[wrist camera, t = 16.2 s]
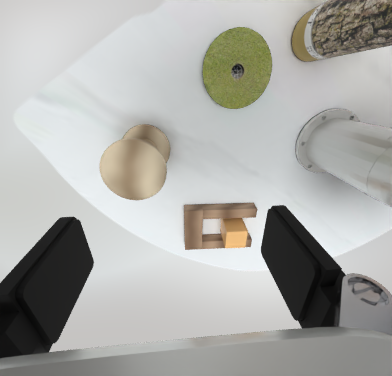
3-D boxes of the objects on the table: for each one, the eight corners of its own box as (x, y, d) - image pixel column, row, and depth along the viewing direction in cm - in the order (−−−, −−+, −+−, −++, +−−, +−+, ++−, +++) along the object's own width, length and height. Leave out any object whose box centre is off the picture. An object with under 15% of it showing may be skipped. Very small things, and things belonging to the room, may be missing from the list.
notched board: (253, 202, 46) (257, 208, 43) (247, 239, 51) (250, 246, 48) (184, 204, 45) (184, 211, 42) (184, 242, 50) (185, 249, 47)
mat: (206, 113, 36) (207, 114, 34) (196, 37, 31) (197, 34, 29) (267, 101, 36) (271, 102, 34) (267, 23, 31) (272, 20, 29)
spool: (168, 124, 36) (164, 139, 26) (171, 169, 41) (167, 199, 30) (118, 124, 36) (92, 140, 25) (126, 170, 40) (106, 200, 29)
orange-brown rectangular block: (240, 214, 47) (247, 231, 42) (238, 229, 49) (245, 247, 44) (221, 215, 47) (226, 231, 41) (220, 230, 49) (225, 248, 43)
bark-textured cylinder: (335, 47, 33) (660, -37, 11) (296, 70, 34) (516, 38, 12) (326, -1, 30) (748, -253, 8) (284, 26, 31) (546, -127, 9)
